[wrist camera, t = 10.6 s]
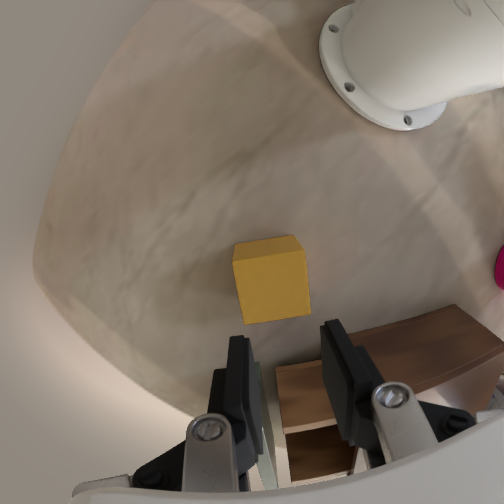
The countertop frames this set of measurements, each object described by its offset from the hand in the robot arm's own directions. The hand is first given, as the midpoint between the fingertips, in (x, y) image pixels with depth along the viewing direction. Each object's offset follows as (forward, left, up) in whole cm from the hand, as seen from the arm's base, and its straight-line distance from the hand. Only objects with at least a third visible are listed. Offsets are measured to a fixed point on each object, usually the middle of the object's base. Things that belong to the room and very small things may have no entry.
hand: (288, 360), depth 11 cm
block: (0, 0, -12) cm, 12 cm away
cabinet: (+14, +12, -12) cm, 22 cm away
